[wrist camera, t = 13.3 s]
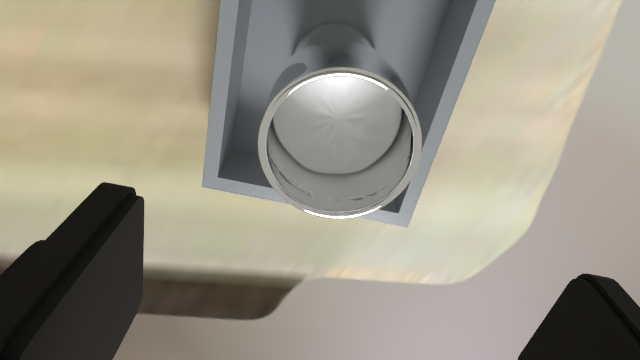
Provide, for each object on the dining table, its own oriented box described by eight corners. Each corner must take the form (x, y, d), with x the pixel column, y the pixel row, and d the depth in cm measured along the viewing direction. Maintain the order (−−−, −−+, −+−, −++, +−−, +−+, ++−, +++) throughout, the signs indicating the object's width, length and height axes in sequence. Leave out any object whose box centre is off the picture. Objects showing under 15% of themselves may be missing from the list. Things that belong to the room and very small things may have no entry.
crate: (252, -105, 26) (233, -123, 20) (477, -46, 27) (514, -48, 22) (221, 152, 34) (201, 186, 29) (395, 187, 35) (407, 227, 30)
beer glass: (279, 104, 31) (244, 209, 18) (293, 5, 28) (263, 45, 14) (369, 120, 31) (400, 235, 18) (393, 25, 28) (452, 81, 15)
